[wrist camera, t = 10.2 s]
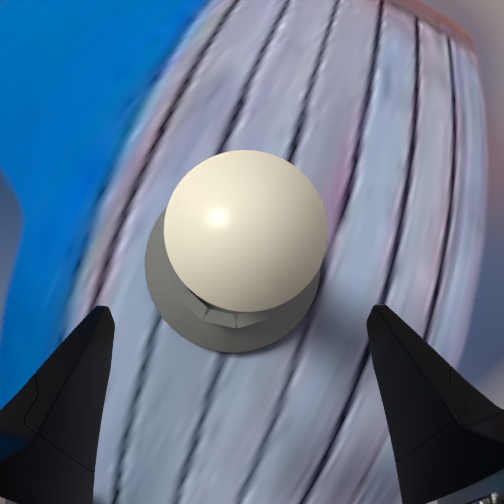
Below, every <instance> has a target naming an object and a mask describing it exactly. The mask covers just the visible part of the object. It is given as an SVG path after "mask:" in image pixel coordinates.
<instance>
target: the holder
mask: <svg viewBox="0 0 504 504" xmlns="http://www.w3.org/2000/svg"><path fill="white" fill-rule="evenodd" d="M166 209H167V207H166ZM166 209H165V210H164V211H163V212H162V214H161V215H160V217H159V218H158V220H157V221H156V223H155V225H154V227H153V229H152V231H151V234H150V237H149V240H148V244H147V249H146V254H145V274H146V281H147V285H148V289H149V292H150V295H151V298H152V300H153V302H154V304H155V306H156V308H157V310H158V311H159V313H160V314H161V316H162V317H163V319H164V320H165V321H166V322H167V323H168V324H169V325H170V326H171V328H172V329H174V330H175V331H176V332H177V333H178V334H180V335H181V336H182V337H184V338H185V339H187V340H189V341H190V342H192V343H194V344H196V345H199V346H201V347H204V348H207V349H210V350H214V351H220V352H233V353H238V352H247V351H252V350H256V349H260V348H262V347H265V346H267V345H270V344H272V343H274V342H276V341H277V340H279V339H281V338H282V337H284V336H285V335H286V334H288V333H289V332H290V331H291V330H292V329H293V328H294V327H295V326H296V325H297V324H298V323H299V322H300V321H301V320H302V318H303V317H304V316H305V314H306V313H307V311H308V309H309V308H310V306H311V304H312V302H313V300H314V297H315V295H316V292H317V288H318V284H319V279H320V272H321V266H320V268H319V270H318V272H317V273H316V275H315V276H314V278H313V279H312V280H311V282H310V283H309V284H308V285H307V286H306V287H305V288H304V289H303V290H302V291H301V292H300V293H299V294H298V295H296V296H295V297H294V298H292V299H290V300H289V301H287V302H285V303H284V304H281V305H279V306H276V307H274V308H270V309H266V310H263V311H254V312H239V311H232V310H227V309H224V308H220V307H217V306H215V305H213V304H211V303H208V302H207V301H205V300H203V299H202V298H200V297H198V296H197V295H196V294H195V293H194V292H192V291H191V290H190V289H189V288H188V287H187V286H186V285H185V284H184V283H183V282H182V280H181V279H180V278H179V276H178V275H177V273H176V272H175V270H174V268H173V266H172V264H171V262H170V260H169V257H168V254H167V251H166V246H165V241H164V219H165V214H166Z"/></svg>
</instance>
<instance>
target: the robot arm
mask: <svg viewBox="0 0 504 504" xmlns="http://www.w3.org/2000/svg"><path fill="white" fill-rule="evenodd" d="M114 331H115V323H114V320H113V317H112V315H111V312H110V309H109V308H108V307H107V306H96V307H95V308H94V309H93V310H92V311H91V312H90V313H89V314H88V315H87V316H86V317H85V318H84V319H83V320H82V321H81V323H80V324H79V325H78V326H77V327H76V328H75V329H74V330H73V331H72V332H71V333H70V334H69V335H68V337H67V338H66V339H65V340H64V341H63V342H62V343H61V344H60V345H59V346H58V348H57V349H56V350H55V351H54V352H53V353H52V354H51V355H50V357H49V358H48V359H47V360H46V361H45V362H44V363H43V365H42V366H41V367H40V368H39V369H38V370H37V372H36V373H35V374H34V375H33V376H32V377H31V378H30V380H29V381H28V382H27V383H26V384H25V385H24V386H23V388H22V389H21V390H20V391H19V392H18V393H17V394H16V395H15V396H14V397H13V398H12V399H11V400H10V401H9V402H8V403H7V404H6V405H5V406H4V407H3V408H2V409H1V410H0V504H92V499H93V486H94V475H95V474H94V473H95V464H96V455H97V447H98V440H99V433H100V426H101V419H102V413H103V407H104V401H105V395H106V390H107V384H108V379H109V374H110V368H111V360H112V349H113V339H114ZM367 331H368V337H369V343H370V349H371V356H372V362H373V366H374V370H375V374H376V378H377V382H378V386H379V390H380V394H381V398H382V402H383V406H384V410H385V415H386V419H387V423H388V428H389V433H390V437H391V442H392V447H393V452H394V457H395V462H396V468H397V474H398V479H399V485H400V491H401V497H402V504H426V503H429V502H431V501H434V500H437V504H504V410H503V409H501V408H499V407H498V406H496V405H495V404H493V403H492V402H491V401H490V400H489V399H488V398H486V397H485V396H484V395H483V394H481V393H480V392H479V391H478V390H477V389H475V388H474V387H473V386H472V385H471V384H470V383H469V382H467V381H466V380H465V379H464V378H463V377H462V376H461V375H460V374H459V373H458V372H457V371H456V370H455V369H454V368H453V367H452V366H450V364H448V363H447V362H446V361H445V360H444V359H443V358H442V357H441V356H440V355H439V354H438V353H437V352H436V351H435V350H434V349H433V348H432V347H431V346H430V345H429V344H428V343H427V342H426V341H424V340H423V339H422V338H421V337H420V336H419V335H418V334H417V333H416V332H415V331H414V330H413V329H412V328H411V327H410V326H408V325H407V324H406V323H405V322H404V321H403V320H402V319H401V318H400V317H399V316H398V315H397V314H395V313H394V312H393V311H392V310H391V309H390V308H389V307H388V306H387V305H385V304H380V305H375V306H373V308H372V310H371V313H370V315H369V317H368V319H367Z"/></svg>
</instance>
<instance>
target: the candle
mask: <svg viewBox="0 0 504 504" xmlns="http://www.w3.org/2000/svg"><path fill="white" fill-rule="evenodd" d="M164 241H165V246H166V251H167V254H168V257H169V260H170V262H171V264H172V266H173V268H174V270H175V272H176V273H177V275H178V276H179V278H180V279H181V280H182V282H183V283H184V284H185V285H186V286H187V287H188V288H189V289H190V290H191V291H192V292H194V293H195V294H196V295H197V296H198V297H200V298H202V299H203V300H205V301H207V302H208V303H211V304H213V305H215V306H217V307H220V308H224V309H227V310H232V311H239V312H254V311H263V310H266V309H270V308H274V307H276V306H279V305H281V304H284V303H285V302H287V301H289V300H290V299H292V298H294V297H295V296H296V295H298V294H299V293H300V292H301V291H302V290H303V289H304V288H305V287H306V286H307V285H308V284H309V283H310V282H311V280H312V279H313V278H314V276H315V275H316V273H317V272H318V270H319V268H320V266H321V264H322V261H323V259H324V256H325V252H326V248H327V241H328V222H327V216H326V212H325V208H324V205H323V203H322V200H321V198H320V196H319V194H318V192H317V191H316V189H315V187H314V186H313V184H312V183H311V182H310V181H309V179H308V178H307V177H306V176H305V175H304V174H303V173H302V172H301V171H300V170H298V169H297V168H296V167H295V166H293V165H292V164H290V163H289V162H287V161H285V160H284V159H281V158H279V157H277V156H275V155H271V154H268V153H265V152H260V151H252V150H238V151H230V152H225V153H222V154H219V155H216V156H213V157H211V158H209V159H207V160H205V161H203V162H202V163H200V164H199V165H197V166H196V167H194V168H193V169H192V170H191V171H190V172H189V173H187V175H186V176H185V177H184V178H183V179H182V180H181V181H180V183H179V184H178V186H177V187H176V189H175V190H174V192H173V194H172V196H171V198H170V201H169V203H168V206H167V209H166V214H165V219H164Z"/></svg>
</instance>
